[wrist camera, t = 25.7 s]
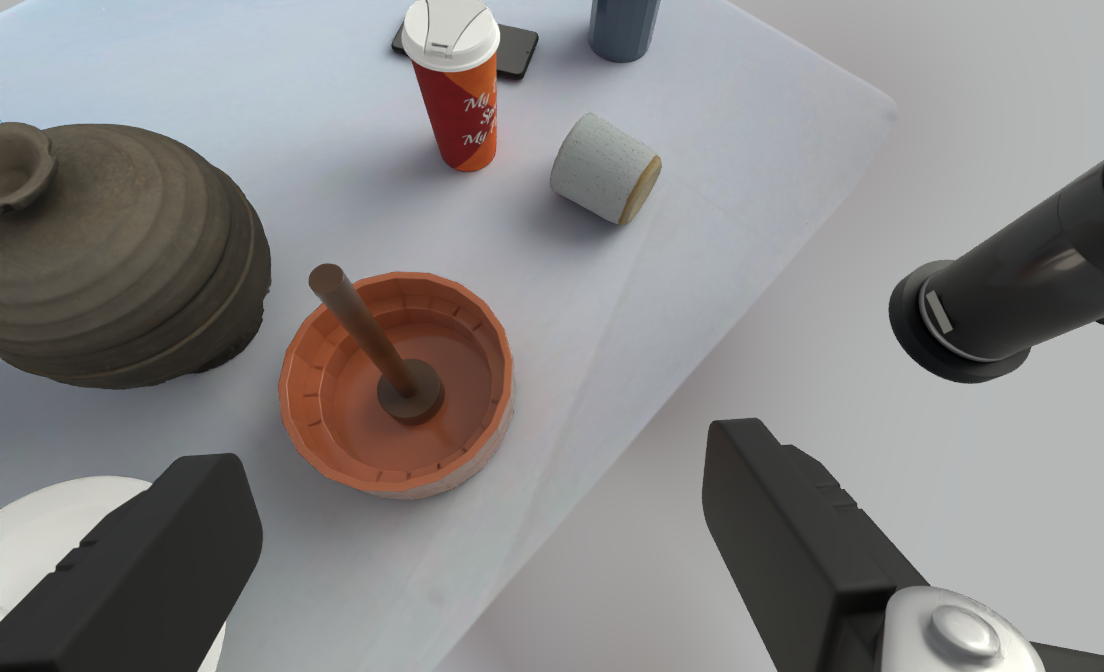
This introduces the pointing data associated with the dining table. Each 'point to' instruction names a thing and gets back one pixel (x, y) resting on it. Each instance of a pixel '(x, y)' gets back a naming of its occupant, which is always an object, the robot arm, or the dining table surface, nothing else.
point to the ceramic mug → (604, 170)
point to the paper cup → (456, 76)
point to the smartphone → (502, 50)
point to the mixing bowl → (352, 378)
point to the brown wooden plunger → (380, 351)
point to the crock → (622, 28)
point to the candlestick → (61, 535)
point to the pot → (123, 257)
